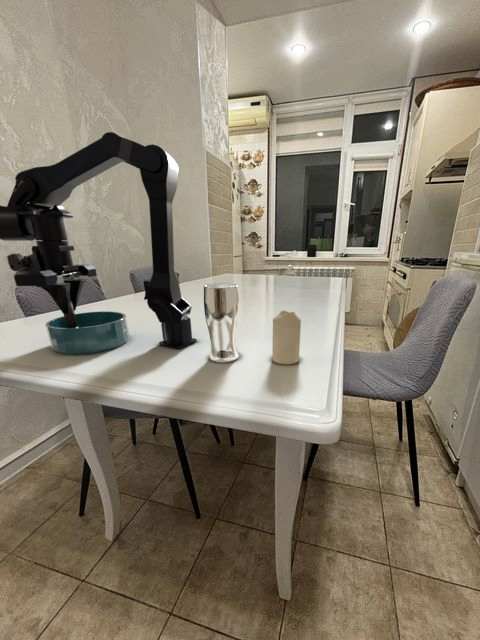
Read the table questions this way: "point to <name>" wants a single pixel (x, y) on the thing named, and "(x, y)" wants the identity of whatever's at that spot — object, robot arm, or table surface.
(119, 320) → the bowl
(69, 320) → the brown rod
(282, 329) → the candle
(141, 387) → the table surface
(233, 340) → the beer glass
